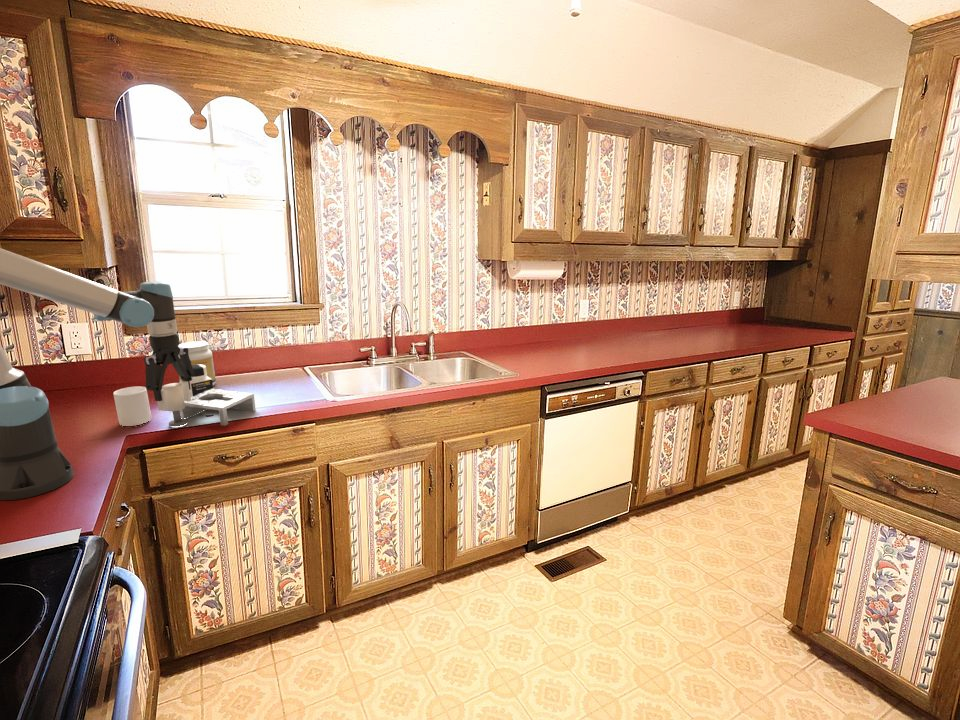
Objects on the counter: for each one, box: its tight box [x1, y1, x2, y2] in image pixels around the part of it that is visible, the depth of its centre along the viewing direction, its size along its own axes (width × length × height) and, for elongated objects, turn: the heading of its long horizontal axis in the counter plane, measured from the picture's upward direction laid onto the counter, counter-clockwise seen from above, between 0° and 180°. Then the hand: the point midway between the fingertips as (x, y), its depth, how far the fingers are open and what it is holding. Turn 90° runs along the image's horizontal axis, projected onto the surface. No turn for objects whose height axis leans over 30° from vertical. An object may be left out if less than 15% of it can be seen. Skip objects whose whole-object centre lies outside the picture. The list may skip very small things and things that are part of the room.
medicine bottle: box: [189, 364, 214, 397], centre depth 180 cm, size 7×7×12 cm
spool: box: [162, 382, 188, 427], centre depth 155 cm, size 5×5×13 cm
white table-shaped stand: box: [180, 388, 256, 427], centre depth 164 cm, size 14×17×6 cm
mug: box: [112, 386, 152, 427], centre depth 158 cm, size 9×12×11 cm
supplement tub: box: [178, 341, 217, 387], centre depth 190 cm, size 12×12×17 cm
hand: (175, 405), depth 155 cm, fingers open, 8 cm apart
